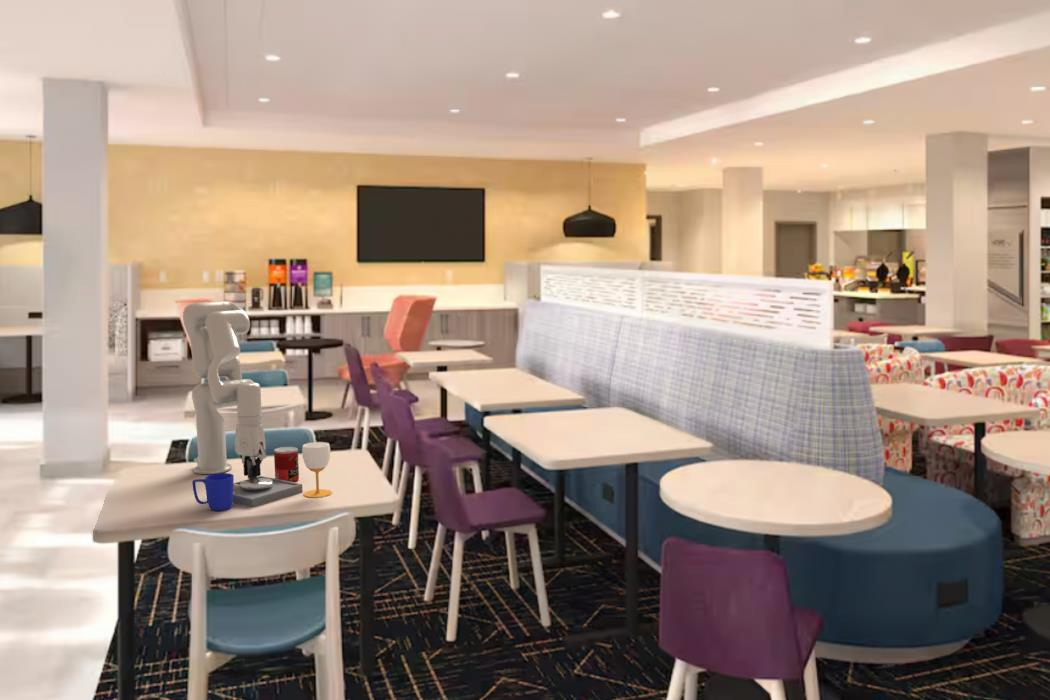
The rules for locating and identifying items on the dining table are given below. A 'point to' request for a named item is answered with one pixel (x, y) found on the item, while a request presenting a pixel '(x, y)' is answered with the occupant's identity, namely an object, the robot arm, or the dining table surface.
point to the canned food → (286, 464)
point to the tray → (265, 492)
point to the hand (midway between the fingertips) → (252, 475)
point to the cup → (316, 464)
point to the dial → (254, 480)
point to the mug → (217, 491)
